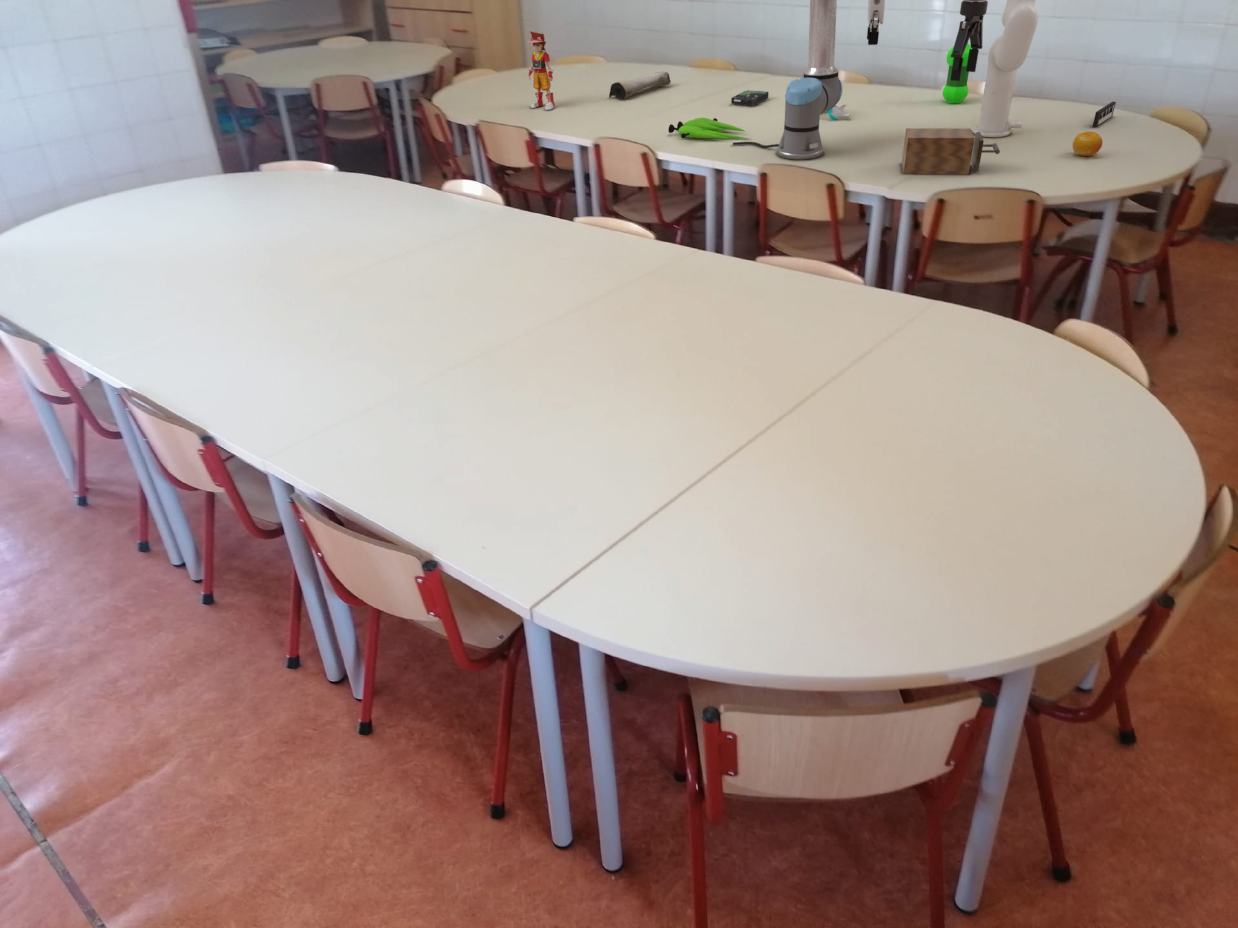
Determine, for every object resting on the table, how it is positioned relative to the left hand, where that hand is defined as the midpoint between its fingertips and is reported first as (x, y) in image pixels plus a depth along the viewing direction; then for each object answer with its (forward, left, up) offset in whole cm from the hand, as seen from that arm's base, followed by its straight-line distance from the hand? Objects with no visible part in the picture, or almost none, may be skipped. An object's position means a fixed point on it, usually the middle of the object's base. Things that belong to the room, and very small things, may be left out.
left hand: (962, 76), depth 280 cm
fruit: (+38, +21, -26) cm, 50 cm away
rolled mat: (-148, +51, -26) cm, 159 cm away
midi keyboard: (+37, +64, -26) cm, 78 cm away
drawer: (+4, -9, -25) cm, 27 cm away
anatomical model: (-56, +40, -26) cm, 73 cm away
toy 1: (-175, +12, -26) cm, 177 cm away
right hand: (-36, +20, +5) cm, 42 cm away
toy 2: (-87, -1, -26) cm, 91 cm away
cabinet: (-2, -11, -26) cm, 28 cm away
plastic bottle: (-19, +76, -26) cm, 82 cm away
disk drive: (-95, +50, -26) cm, 111 cm away
